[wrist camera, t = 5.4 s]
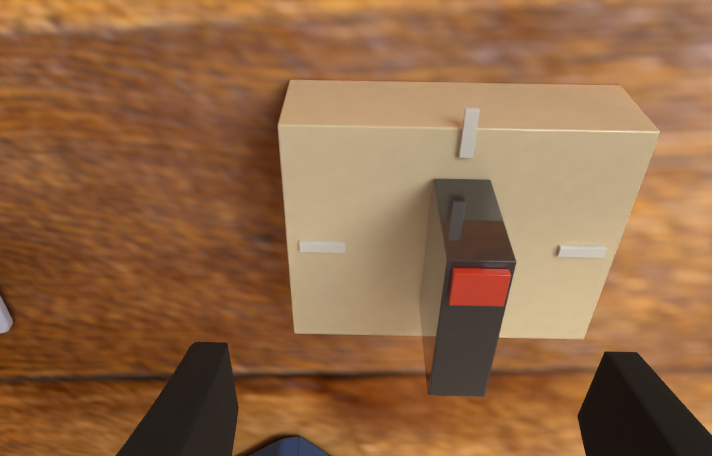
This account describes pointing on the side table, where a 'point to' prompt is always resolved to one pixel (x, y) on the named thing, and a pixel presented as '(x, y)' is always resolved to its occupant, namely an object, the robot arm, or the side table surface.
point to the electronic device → (291, 448)
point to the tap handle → (463, 286)
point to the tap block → (454, 161)
